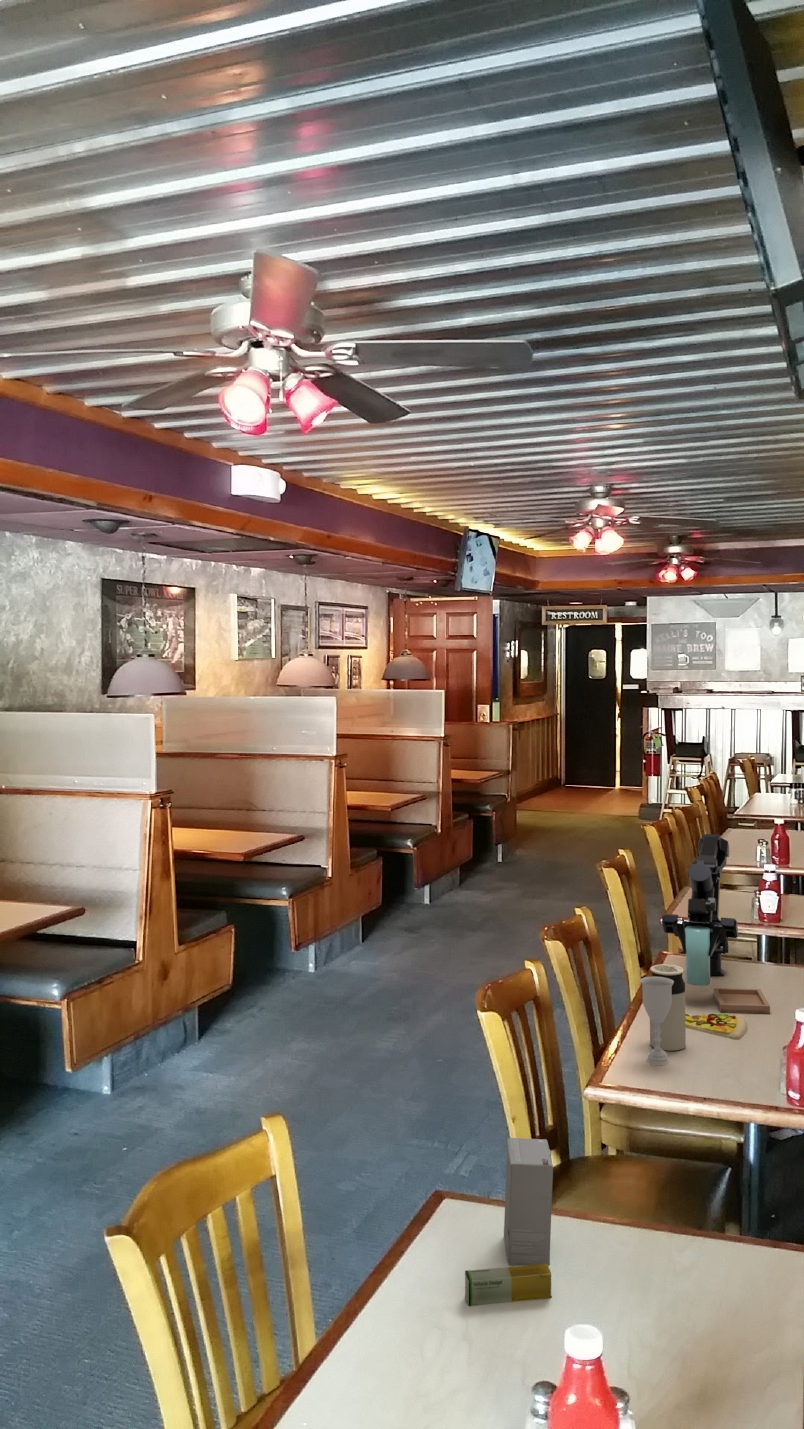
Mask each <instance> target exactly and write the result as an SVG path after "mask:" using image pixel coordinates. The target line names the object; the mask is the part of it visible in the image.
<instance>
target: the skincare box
mask: <svg viewBox="0 0 804 1429" xmlns="http://www.w3.org/2000/svg"><path fill="white" fill-rule="evenodd" d="M506 1140H507V1141H506V1144H507V1145H506V1167H505V1168H506V1169H505V1194H504V1195H505V1196H504V1197H505V1198H504V1218H503V1219H504V1221H503V1223H504V1224H503V1244H504V1250H505V1251H504V1252H505V1257H506V1262H507V1264H508V1265H509V1266H511V1265H514V1266H526V1265H538V1264H547V1265H548V1266H550V1264H551V1263H550V1261H551V1257H550V1256H551V1233H552V1232H551V1231H552V1230H551V1229H552V1204H553V1203H552V1202H553V1182H554V1181H553V1180H554V1179H553V1178H554V1166H553V1161H552V1157H551V1155H552V1151H551V1149H550V1146H549V1143H548V1142H549V1141H548V1140H547V1139H546V1138H544V1139H543V1138H542V1139H540V1138H524V1137H523V1138H522V1137H521V1138H520V1137H509V1138H507V1139H506Z"/></svg>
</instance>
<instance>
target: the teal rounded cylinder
mask: <svg viewBox="0 0 804 1429" xmlns="http://www.w3.org/2000/svg"><path fill="white" fill-rule="evenodd" d="M685 935H686V954H685V983H686V984H688V985H692V986H697V987H698V986H700V987H701V986H702V987H703V986H708V985H710V984H711V975H710V956H709V948H710V929H709V928H708V927H704V926H688V927H686V928H685Z"/></svg>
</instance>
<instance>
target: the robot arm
mask: <svg viewBox="0 0 804 1429" xmlns="http://www.w3.org/2000/svg"><path fill="white" fill-rule="evenodd" d="M697 844H698V845H697V852H698V855H699V856H697V857H695V858H693V860H692V864H689V867H688V870H687V878H688V879H689V885H690V888H691V898H688V902H687V903H688V904H687V918H688V919H687V920H686V919H684V918H680V916H679V914H673V913H664V914H663V915H662V918H661V924H662V928H663V933H665V934H671V935H673V936H675V937H677V938H678V939H679V941H680V945H681V948H682V952H683V954H684V955H686V935H685V928H686V927H688V926H704V927H708V928H709V929H710V948H709V956H710V976H722V977H723V976H725V973H724V971H723V968H722V954H723V955H726V954H729V939H737V938H738V936H739V928H738V921H737V919H736V917H735V918H733V917H720V916H719V914H720V912H719V911H720V890H721V877H722V872H723V869H724V868H725V867H726V866H727V860H728V859H727V858H729V857H730V844H729V840H726V839H724V838H722V837H721V835H720V834H717V833H715V834H714V833H712V834H711V833H705V834H702V836H701V838H699V839H698V843H697ZM719 917H720V918H719Z"/></svg>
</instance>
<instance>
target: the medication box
mask: <svg viewBox="0 0 804 1429" xmlns="http://www.w3.org/2000/svg"><path fill="white" fill-rule="evenodd" d="M464 1284H465V1285H464V1299H465V1303H466V1304H467V1306H468V1307H473V1306H475V1307H476V1306H485V1305H496V1304H497V1305H498V1304H503V1303H504V1304H505V1303H516V1302H517V1303H518V1302H525V1301H537V1300H545V1299H546V1300H547V1299H552V1298H553V1296H552V1272H551V1269H550V1267H549V1265H547V1264H538V1265H514V1266H505V1267H504V1266H503V1267H495V1268H483V1269H469V1270H464Z"/></svg>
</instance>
